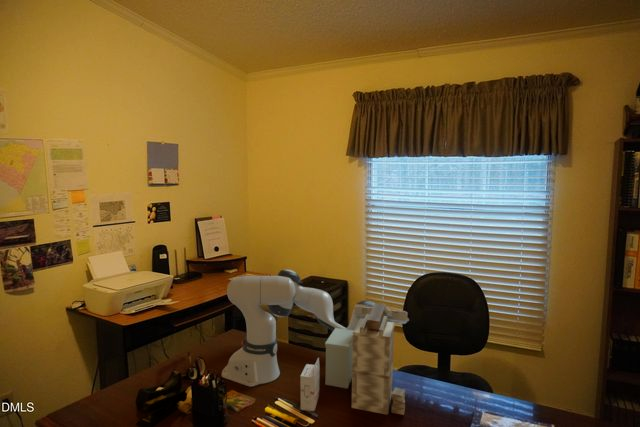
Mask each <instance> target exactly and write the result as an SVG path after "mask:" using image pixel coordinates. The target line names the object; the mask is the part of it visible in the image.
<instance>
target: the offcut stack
mask: <svg viewBox="0 0 640 427" xmlns="http://www.w3.org/2000/svg"><path fill="white" fill-rule="evenodd" d="M405 397H406V389H402V388H399V387H394V389H392V395H391V400H392V401H391V402H392V403H391V413H393V414H397V415H402V416H405V411H406V410H405V409H406V399H405Z"/></svg>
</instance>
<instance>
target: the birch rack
mask: <svg viewBox="0 0 640 427" xmlns="http://www.w3.org/2000/svg"><path fill="white" fill-rule="evenodd" d="M369 315H370V314H366V316H365V318H364V319H361V318H360V320H359V322H358V324H357V326H356V328H355V330H354V331H353V360H352V379H351V409H356V410H360V411H361V410H362V411H366V412H371V413H378V414H383V415H385V416H386V415H389V411H390V405H391V402H392V401H391V400H392V392H393V367H394V366H393V365H394V334H395V332H394V331H395V327H394V322H387V319H388V316H384V318H383V320H382V323H381V326H380V329H379V330H374V329H367V319H368V317H369Z"/></svg>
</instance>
